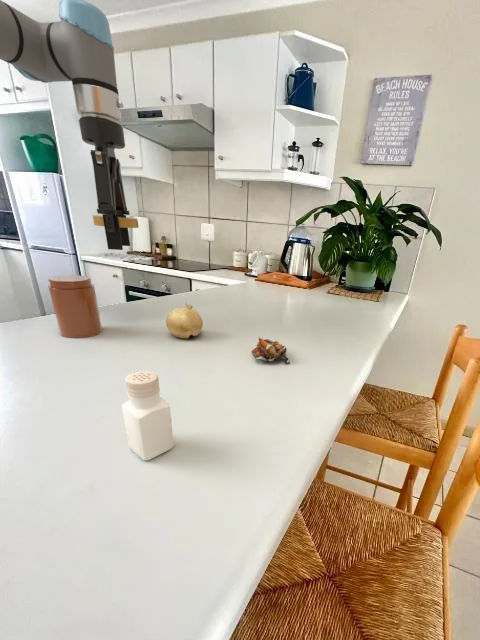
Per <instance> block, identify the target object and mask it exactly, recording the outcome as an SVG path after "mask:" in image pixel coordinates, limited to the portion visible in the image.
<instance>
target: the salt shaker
mask: <svg viewBox="0 0 480 640" xmlns="http://www.w3.org/2000/svg"><path fill="white" fill-rule="evenodd" d="M124 381H125V387H126V393H127V396H128V398H129V400H127V401H125V402H124V403H123V404H122V405H121V411H122V416H123V422H124V427H125V431H126V438H127V442H128V443H127V444H128V447H129V448H130V449H131V450H132V451H133V452H134V453H135V454H136V455H137V456H139V457H140V459H142V460H143V461H150V460H152V459H153V458H155V457H158V456H160V455H162V454H164V453H165V452H167V451H170V450H172V448H174V446H175V441H174V431H173V423H172V413H171V405H170V403H169V402H168V401H167V400H165V399H164V398H163V397H161V396H160V392H161V391H160V382H159V376H158V374H157V373H156V372H155V371H152V370H151V371H150V370H140V371H136V372H135V371H134V372H132V373H129V374H128V375H127V376H126V377H125V378H124Z"/></svg>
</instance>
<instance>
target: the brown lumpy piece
mask: <svg viewBox="0 0 480 640" xmlns="http://www.w3.org/2000/svg"><path fill="white" fill-rule="evenodd" d="M286 352H287V347H286V346H285V345H282V343H280V342H279V341H277V340H271V339H269V338H265V339H263V338H261V337H260V336H259V337H258V341H257V344H256V347H255V348H253V349H252V350H251V354H252V356H254V358H255V359H261V360H262V361H268V362H273V361H274V360H275V359H277V358H278V359H279V358H281V359H284V362H283V363H284V364H288V365H289V364H290V363H291V360H290V359H289V358H288V357H287V355H286Z"/></svg>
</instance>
